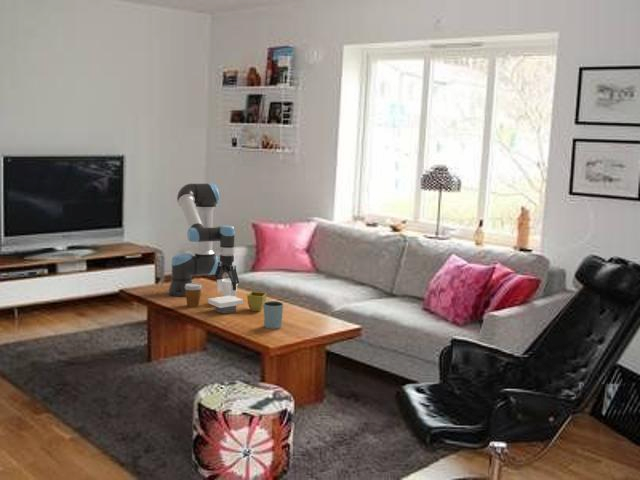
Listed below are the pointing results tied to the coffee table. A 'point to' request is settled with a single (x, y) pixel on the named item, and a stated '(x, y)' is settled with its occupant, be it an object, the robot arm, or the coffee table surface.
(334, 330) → the coffee table surface
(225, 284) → the foam cup
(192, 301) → the disposable coffee cup
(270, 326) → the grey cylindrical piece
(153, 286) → the coffee table surface
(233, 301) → the lid
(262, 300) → the flower pot
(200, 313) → the coffee table surface
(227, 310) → the stand
